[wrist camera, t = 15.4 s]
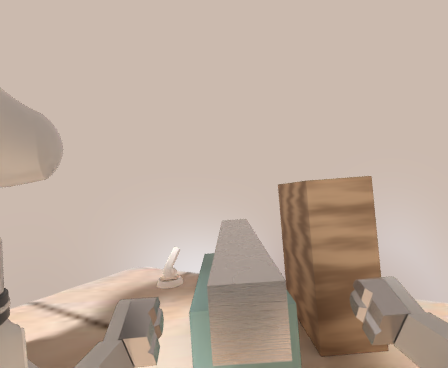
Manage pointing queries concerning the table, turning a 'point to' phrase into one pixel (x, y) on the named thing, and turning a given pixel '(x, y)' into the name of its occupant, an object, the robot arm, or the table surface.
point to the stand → (329, 257)
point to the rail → (246, 300)
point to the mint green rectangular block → (202, 327)
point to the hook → (170, 272)
